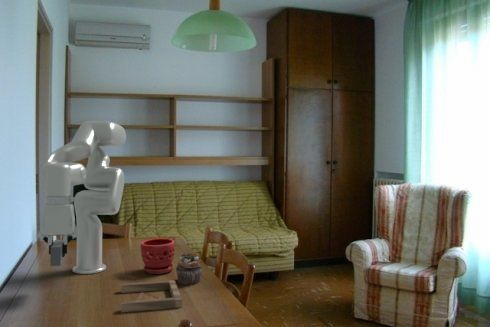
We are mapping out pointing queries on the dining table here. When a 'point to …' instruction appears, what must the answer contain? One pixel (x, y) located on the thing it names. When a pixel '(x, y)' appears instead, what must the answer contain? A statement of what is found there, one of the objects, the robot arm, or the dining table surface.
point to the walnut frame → (153, 303)
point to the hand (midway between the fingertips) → (58, 255)
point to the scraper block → (56, 253)
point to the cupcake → (188, 269)
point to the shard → (146, 297)
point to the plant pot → (158, 255)
